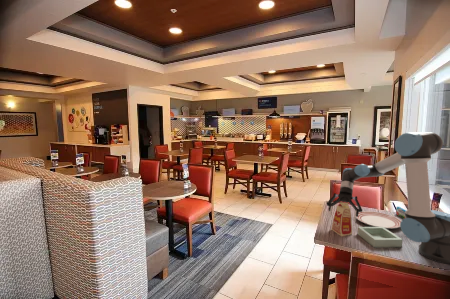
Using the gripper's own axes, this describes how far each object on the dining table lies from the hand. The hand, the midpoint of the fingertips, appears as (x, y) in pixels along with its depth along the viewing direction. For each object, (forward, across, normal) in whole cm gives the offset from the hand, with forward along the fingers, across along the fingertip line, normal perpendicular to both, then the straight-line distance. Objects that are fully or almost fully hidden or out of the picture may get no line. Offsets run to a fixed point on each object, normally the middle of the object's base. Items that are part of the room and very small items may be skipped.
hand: (342, 218), depth 142 cm
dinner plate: (-15, -19, -29) cm, 38 cm away
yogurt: (-30, -34, -44) cm, 63 cm away
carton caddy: (+5, -19, -9) cm, 22 cm away
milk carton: (+5, 0, -9) cm, 10 cm away
